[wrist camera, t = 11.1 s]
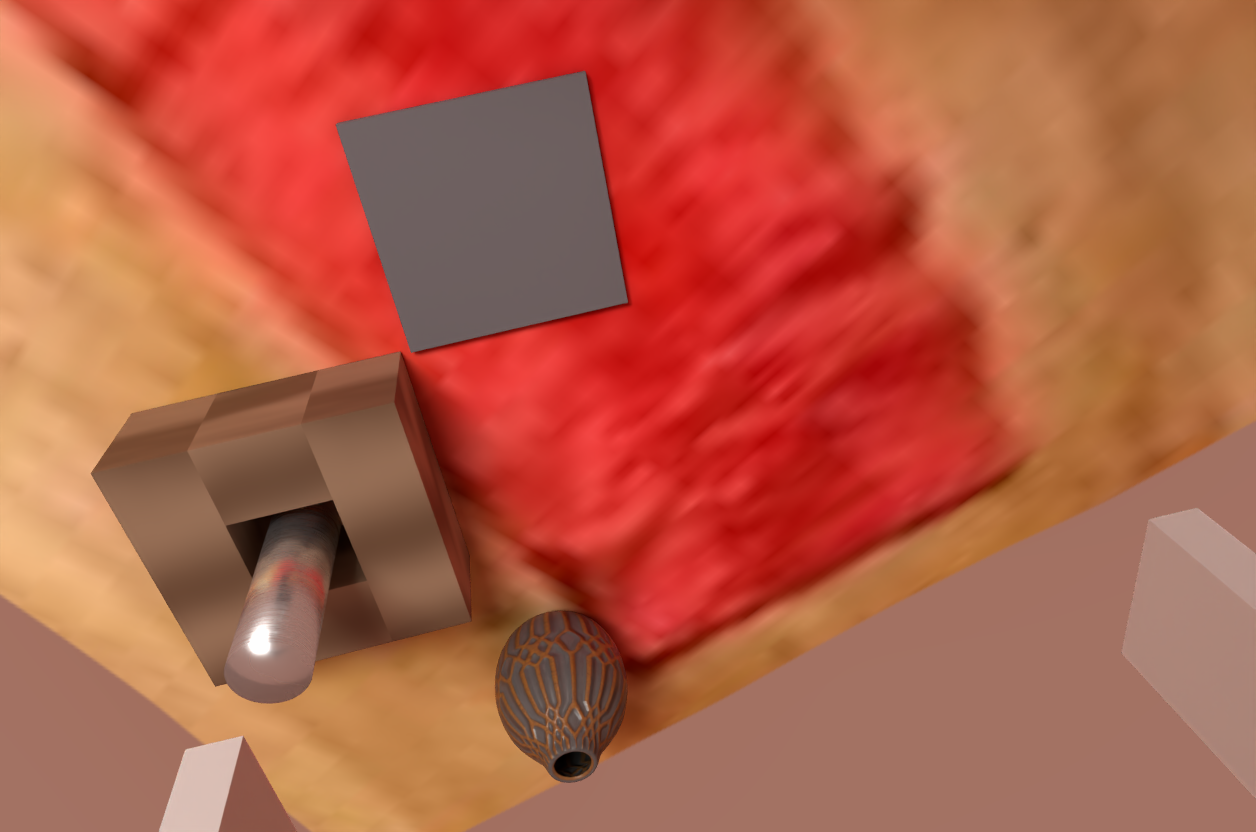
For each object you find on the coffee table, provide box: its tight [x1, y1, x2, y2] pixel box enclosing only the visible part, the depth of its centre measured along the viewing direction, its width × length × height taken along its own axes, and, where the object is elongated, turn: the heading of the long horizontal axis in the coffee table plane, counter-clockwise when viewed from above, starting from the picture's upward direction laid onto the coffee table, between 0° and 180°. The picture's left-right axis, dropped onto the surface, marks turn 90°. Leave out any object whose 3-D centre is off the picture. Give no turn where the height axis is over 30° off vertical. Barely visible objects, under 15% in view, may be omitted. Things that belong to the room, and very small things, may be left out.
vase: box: [495, 611, 627, 783], centre depth 45 cm, size 7×7×9 cm
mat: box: [336, 71, 628, 353], centre depth 37 cm, size 10×10×1 cm
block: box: [91, 352, 472, 687], centre depth 39 cm, size 12×12×5 cm
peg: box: [224, 500, 342, 703], centre depth 36 cm, size 3×3×12 cm
